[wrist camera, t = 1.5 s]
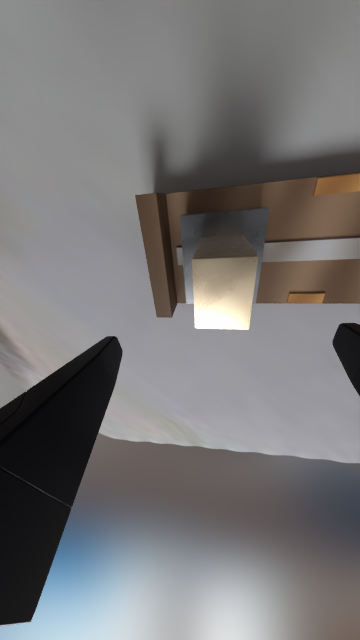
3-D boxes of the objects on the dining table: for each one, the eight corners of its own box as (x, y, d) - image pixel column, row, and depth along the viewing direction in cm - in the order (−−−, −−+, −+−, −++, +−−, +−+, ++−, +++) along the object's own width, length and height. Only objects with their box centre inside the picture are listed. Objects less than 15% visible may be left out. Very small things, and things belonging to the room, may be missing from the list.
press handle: (262, 206, 14) (304, 215, 7) (251, 291, 18) (272, 351, 11) (184, 213, 15) (156, 226, 8) (189, 292, 19) (173, 346, 12)
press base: (465, 161, 13) (568, 146, 9) (389, 296, 18) (434, 321, 14) (153, 195, 17) (135, 195, 13) (167, 297, 22) (156, 317, 18)
